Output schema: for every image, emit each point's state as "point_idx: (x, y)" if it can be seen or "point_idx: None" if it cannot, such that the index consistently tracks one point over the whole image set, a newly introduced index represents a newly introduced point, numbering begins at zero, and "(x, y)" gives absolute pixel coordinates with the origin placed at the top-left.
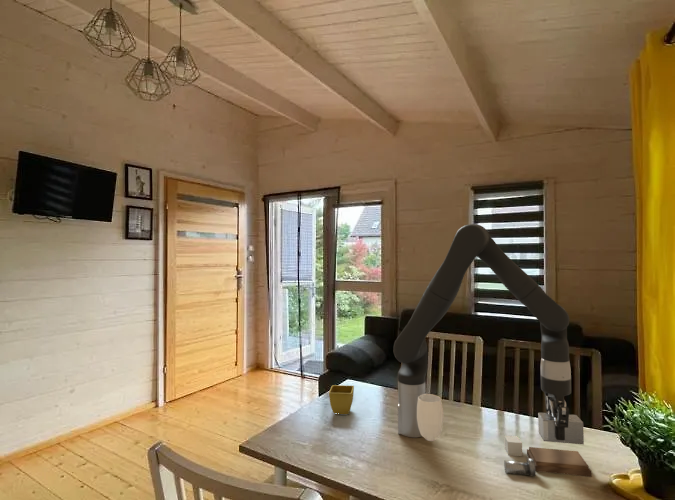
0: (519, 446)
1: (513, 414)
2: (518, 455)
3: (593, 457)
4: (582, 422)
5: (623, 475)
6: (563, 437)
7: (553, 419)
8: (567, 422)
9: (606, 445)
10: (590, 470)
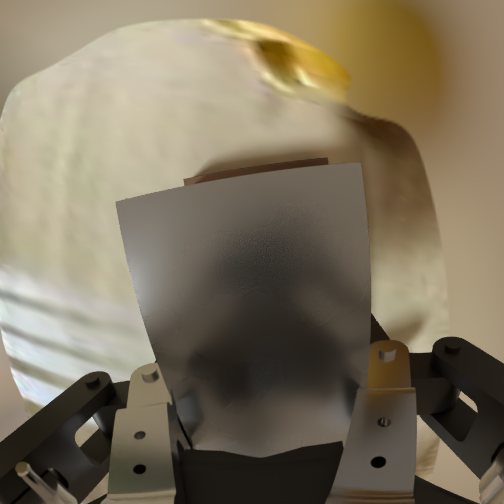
0: None
1: (4, 335)
2: None
3: (157, 125)
4: (358, 170)
5: (267, 52)
6: (372, 317)
7: (338, 438)
8: (495, 366)
9: (66, 87)
10: (322, 160)
